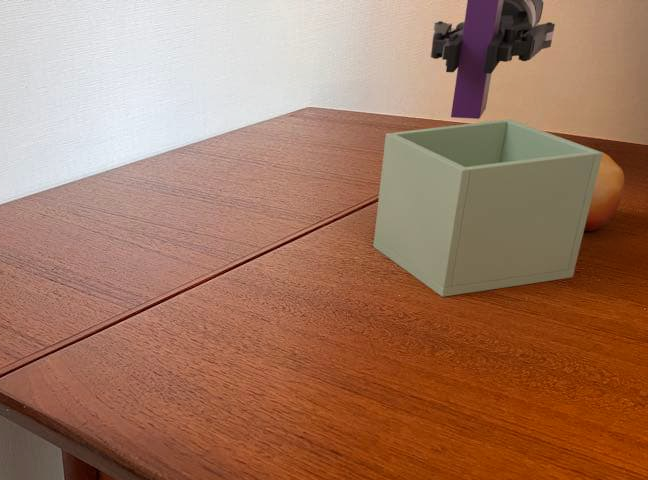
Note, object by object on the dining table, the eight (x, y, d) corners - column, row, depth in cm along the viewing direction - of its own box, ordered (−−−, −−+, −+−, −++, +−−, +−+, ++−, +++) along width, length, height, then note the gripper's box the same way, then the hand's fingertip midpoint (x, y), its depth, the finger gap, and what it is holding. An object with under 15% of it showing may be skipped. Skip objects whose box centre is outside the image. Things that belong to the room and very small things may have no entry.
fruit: (631, 200, 86) (640, 140, 79) (603, 260, 83) (610, 204, 77) (546, 188, 90) (547, 130, 84) (517, 245, 88) (517, 190, 82)
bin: (489, 230, 85) (509, 118, 79) (573, 277, 74) (603, 152, 69) (373, 246, 83) (385, 133, 77) (442, 297, 72) (462, 170, 67)
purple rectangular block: (450, 117, 95) (467, -2, 89) (457, 107, 99) (474, -8, 92) (479, 118, 94) (498, -2, 87) (485, 108, 97) (504, -8, 91)
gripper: (564, 59, 105) (548, 100, 87) (427, 56, 111) (387, 93, 94) (578, -9, 101) (564, 20, 83) (435, -8, 108) (395, 19, 90)
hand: (470, 59), depth 89 cm, fingers closed on purple rectangular block, 3 cm apart
